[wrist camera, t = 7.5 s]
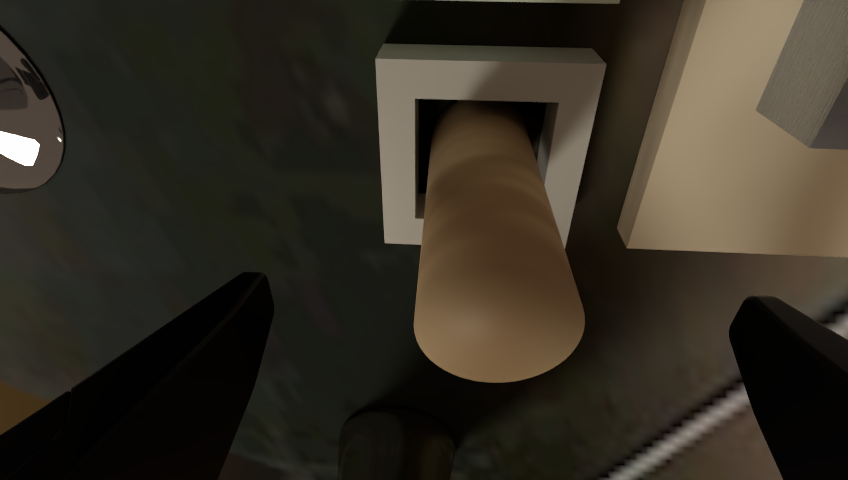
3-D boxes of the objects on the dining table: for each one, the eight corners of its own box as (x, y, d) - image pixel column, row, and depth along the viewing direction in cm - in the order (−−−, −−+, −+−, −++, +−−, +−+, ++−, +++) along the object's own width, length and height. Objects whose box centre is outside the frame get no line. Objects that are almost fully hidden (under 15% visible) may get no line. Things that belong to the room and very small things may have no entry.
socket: (591, 48, 13) (606, 64, 12) (556, 223, 16) (564, 250, 15) (383, 43, 13) (375, 58, 12) (390, 216, 17) (384, 243, 15)
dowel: (533, 96, 14) (601, 265, 7) (521, 185, 16) (568, 385, 9) (431, 94, 14) (412, 259, 8) (431, 183, 16) (414, 379, 9)
